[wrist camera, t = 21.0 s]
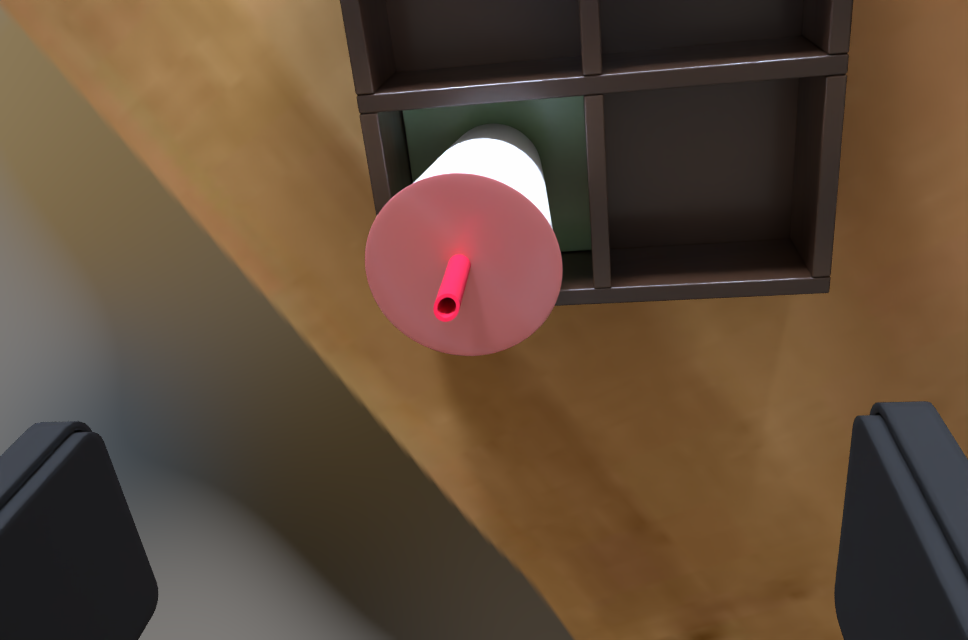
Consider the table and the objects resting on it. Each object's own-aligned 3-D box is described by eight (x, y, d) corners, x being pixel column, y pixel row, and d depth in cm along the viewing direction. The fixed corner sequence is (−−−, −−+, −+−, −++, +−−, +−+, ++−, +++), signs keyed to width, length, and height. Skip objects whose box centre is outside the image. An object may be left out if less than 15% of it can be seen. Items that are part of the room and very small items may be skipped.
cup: (486, 62, 29) (428, 167, 19) (600, 165, 30) (606, 318, 20) (392, 174, 31) (292, 325, 21) (502, 266, 33) (460, 452, 22)
